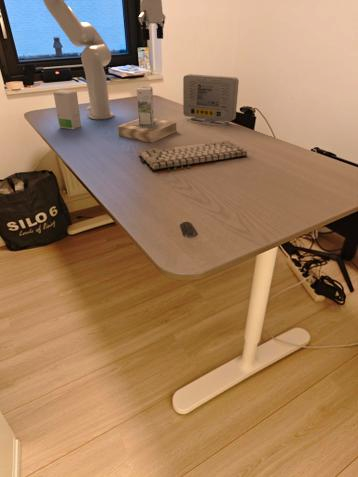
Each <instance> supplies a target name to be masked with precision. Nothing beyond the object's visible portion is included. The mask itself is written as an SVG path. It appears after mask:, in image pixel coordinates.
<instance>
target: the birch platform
mask: <svg viewBox="0 0 358 477" xmlns="http://www.w3.org/2000/svg"><path fill="white" fill-rule="evenodd" d="M117 130H118V136H120V137H124V138H130V139H133V140H139V141H143V142H146V143H147V142H148V143H154V142H156V141H158V140H161V139H162V138H164V137H167V136H170V135H172V134H174V133H177V121H170V120H166V119H165V120H164V119H160V118H154V123H153V125H139V118H137V119H135V120H131V121H129V122H125V123H122V124H120V125H118V126H117Z"/></svg>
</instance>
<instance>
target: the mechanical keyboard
mask: <svg viewBox="0 0 358 477" xmlns="http://www.w3.org/2000/svg"><path fill="white" fill-rule="evenodd" d="M139 154H140V155H138V157H139V159H140V162H141V164H143V165H145V166H146V167H147V168H148V169H149V170H150V171H151V173H152V174H155V173H156V174H158V175H160V174H167V173H168V174H169V173H173V172H180V171H186V170H191V169H195V168H199V167H200V168H201V167H206V166H210V165H215V164H216V163H221V162H229V161H233V160H240V159H246V158H248V150H247V149H244V148H243V147H240V146H237V145H236V144H234V143H233V142H231V141H230V140H223V141H222V142H221V141H216V142H215V141H214V143H213V142H209V143H199V144H190V145H183V146H182V145H181V146H175V147H173V148H171V147H169V148H164V149H161V148H159V149H158V147H154V148H152V149H151V148H147V149H140V151H139Z"/></svg>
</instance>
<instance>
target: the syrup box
mask: <svg viewBox="0 0 358 477" xmlns="http://www.w3.org/2000/svg"><path fill="white" fill-rule="evenodd" d="M153 92H154V90H153V86H138V87H137V88H136V97H137V98H136V99H137V112H138V119H139V125H153V123H154V119H155V118H154V116H155V115H154V97H153V95H154V93H153Z"/></svg>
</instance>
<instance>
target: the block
mask: <svg viewBox="0 0 358 477" xmlns="http://www.w3.org/2000/svg"><path fill="white" fill-rule="evenodd" d="M179 226H180V229H181V232H182V236H183V237H186V238H193V237H196V236H197V235H199V232H198V231H197V230H196V228H195V227H194V225H193V223H192V222H189V221H184V222H182V223H180V224H179Z"/></svg>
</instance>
